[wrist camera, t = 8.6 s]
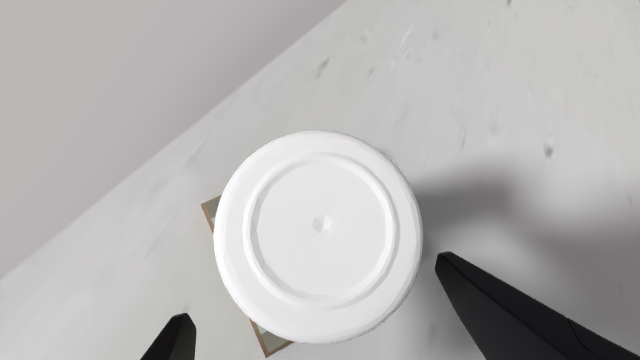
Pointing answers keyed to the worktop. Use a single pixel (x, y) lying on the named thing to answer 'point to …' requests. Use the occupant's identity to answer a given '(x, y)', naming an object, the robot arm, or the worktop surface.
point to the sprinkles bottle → (318, 237)
